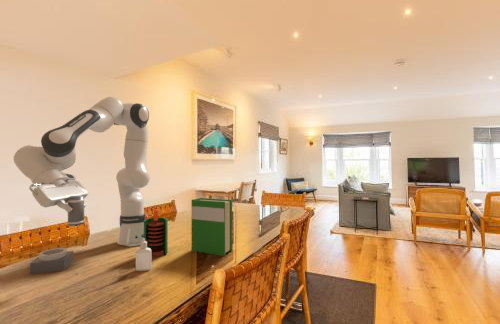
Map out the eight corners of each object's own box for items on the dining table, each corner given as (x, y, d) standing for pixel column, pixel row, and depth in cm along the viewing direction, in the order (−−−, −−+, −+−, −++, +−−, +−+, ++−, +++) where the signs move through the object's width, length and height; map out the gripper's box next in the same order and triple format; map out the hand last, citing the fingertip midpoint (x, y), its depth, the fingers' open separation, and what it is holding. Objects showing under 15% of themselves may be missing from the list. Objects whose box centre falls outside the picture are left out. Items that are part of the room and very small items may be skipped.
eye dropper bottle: (145, 272, 100) (145, 240, 100) (133, 270, 102) (133, 239, 102) (153, 268, 104) (153, 237, 104) (142, 266, 106) (142, 236, 106)
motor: (144, 259, 114) (144, 212, 114) (142, 252, 122) (142, 209, 122) (169, 255, 119) (168, 210, 119) (165, 249, 126) (165, 207, 126)
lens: (86, 222, 100) (85, 194, 100) (82, 225, 95) (82, 196, 95) (70, 223, 98) (70, 195, 98) (65, 226, 93) (65, 197, 93)
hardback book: (232, 250, 124) (232, 199, 124) (224, 256, 117) (224, 201, 117) (200, 246, 131) (200, 197, 131) (191, 250, 124) (191, 199, 124)
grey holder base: (73, 260, 113) (73, 245, 113) (64, 270, 102) (64, 253, 102) (42, 263, 109) (42, 248, 109) (29, 274, 99) (29, 257, 99)
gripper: (32, 178, 86) (62, 208, 86) (76, 174, 107) (100, 199, 106) (19, 191, 87) (49, 221, 86) (66, 186, 107) (89, 210, 107)
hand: (77, 209), depth 96 cm, fingers closed on lens, 5 cm apart
